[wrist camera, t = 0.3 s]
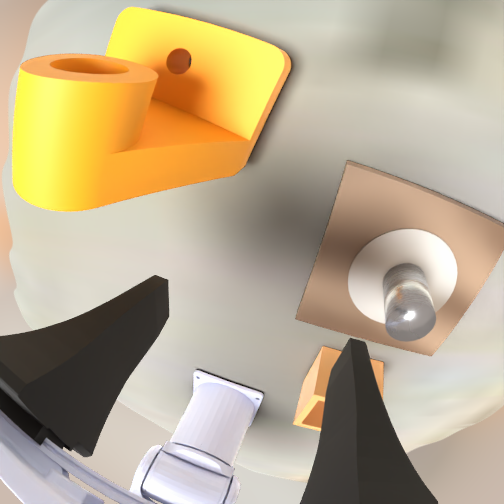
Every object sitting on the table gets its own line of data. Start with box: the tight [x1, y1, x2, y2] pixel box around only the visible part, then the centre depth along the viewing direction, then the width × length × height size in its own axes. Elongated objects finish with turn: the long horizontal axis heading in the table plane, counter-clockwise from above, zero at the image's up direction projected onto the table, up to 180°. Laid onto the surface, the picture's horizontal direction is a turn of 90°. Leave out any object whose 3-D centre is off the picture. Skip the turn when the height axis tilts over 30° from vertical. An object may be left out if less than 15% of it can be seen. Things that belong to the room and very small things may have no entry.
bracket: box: [12, 7, 291, 211], centre depth 11 cm, size 11×7×12 cm
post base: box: [295, 160, 504, 356], centre depth 18 cm, size 12×12×1 cm
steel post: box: [382, 263, 436, 342], centre depth 17 cm, size 3×3×5 cm
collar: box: [293, 346, 383, 431], centre depth 24 cm, size 6×6×5 cm
